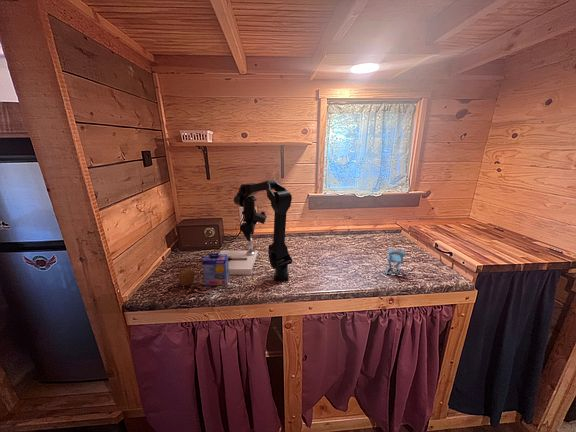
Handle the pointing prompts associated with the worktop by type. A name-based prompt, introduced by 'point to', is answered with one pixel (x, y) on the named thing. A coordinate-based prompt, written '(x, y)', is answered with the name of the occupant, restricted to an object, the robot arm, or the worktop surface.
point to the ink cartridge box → (216, 269)
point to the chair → (395, 259)
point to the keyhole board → (240, 262)
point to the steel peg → (250, 248)
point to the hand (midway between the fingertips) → (250, 237)
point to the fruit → (186, 277)
